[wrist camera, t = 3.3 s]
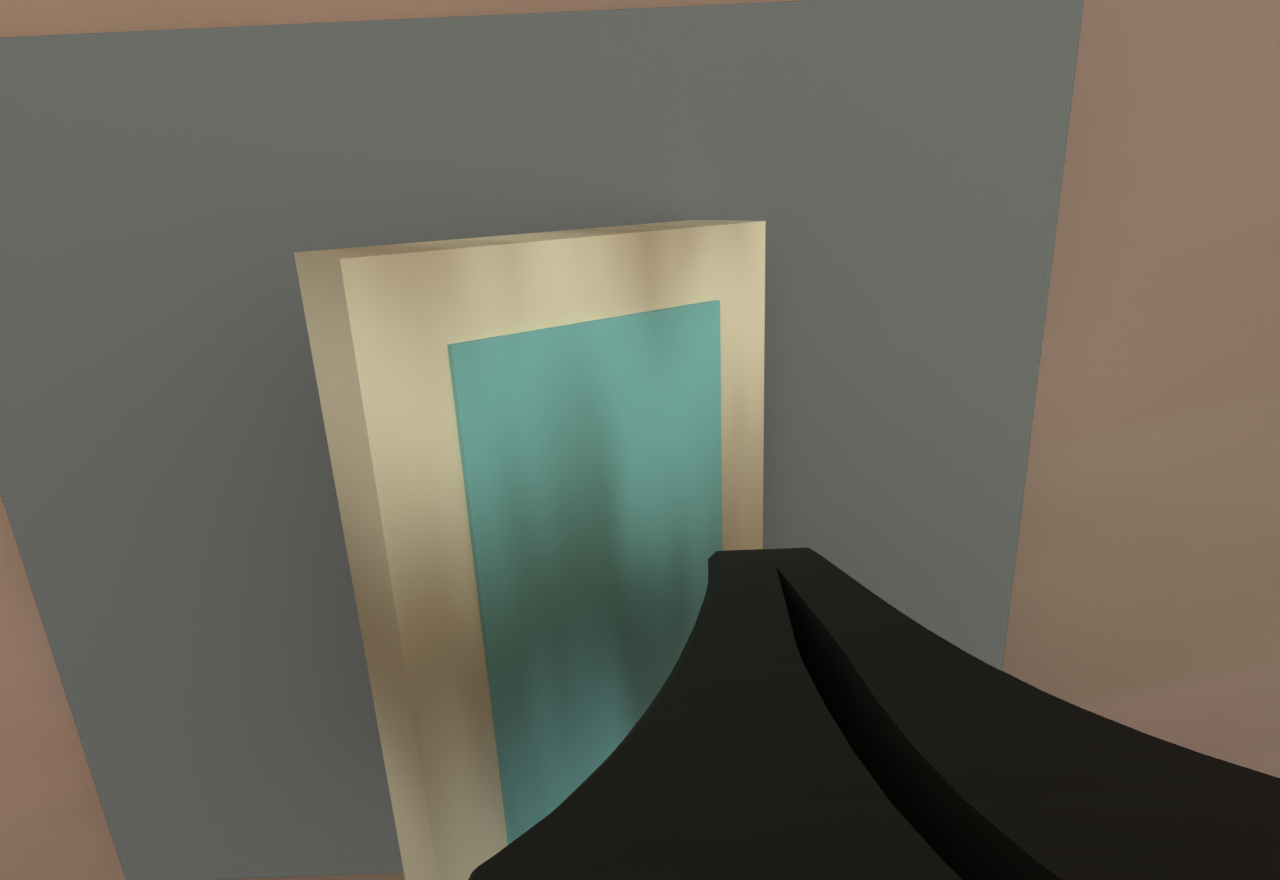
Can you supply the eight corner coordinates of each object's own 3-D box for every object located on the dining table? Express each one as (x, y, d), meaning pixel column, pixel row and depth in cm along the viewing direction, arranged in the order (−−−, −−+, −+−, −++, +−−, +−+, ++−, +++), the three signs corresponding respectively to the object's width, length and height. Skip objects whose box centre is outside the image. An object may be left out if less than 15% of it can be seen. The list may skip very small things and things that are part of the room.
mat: (967, 827, 17) (979, 850, 16) (143, 859, 17) (127, 882, 16) (1063, -3, 12) (1085, -12, 11) (-108, 51, 12) (-146, 43, 11)
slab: (764, 791, 14) (461, 1005, 11) (701, 743, 15) (412, 919, 12) (770, 221, 11) (343, 259, 7) (690, 220, 12) (293, 252, 9)
